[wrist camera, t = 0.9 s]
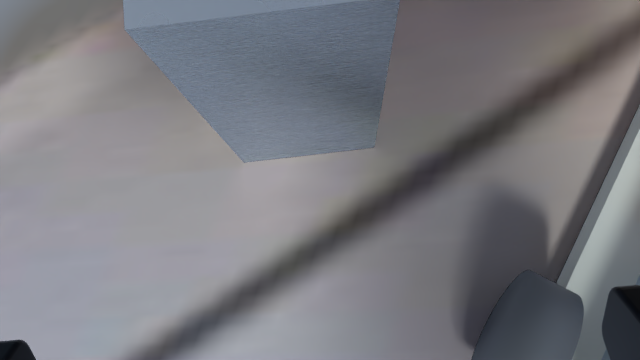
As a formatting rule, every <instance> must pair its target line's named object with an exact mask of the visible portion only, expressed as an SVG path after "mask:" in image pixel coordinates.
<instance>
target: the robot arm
mask: <svg viewBox="0 0 640 360" xmlns="http://www.w3.org/2000/svg"><path fill="white" fill-rule="evenodd" d="M602 336H603V340H604V343H605V346H606V349H607V352H608V355H609V357H610V360H640V285H629V286H617V287H614V288H612V289H611V290H610V292H609V294H608V299H607V303H606V308H605V312H604V317H603V321H602ZM0 360H36V359H35V357H34V355H33V353H32V351H31V349H30V347H29V346H28V344H27V343H26V342H25V341H23V340H11V341H0Z"/></svg>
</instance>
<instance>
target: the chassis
mask: <svg viewBox="0 0 640 360" xmlns="http://www.w3.org/2000/svg"><path fill="white" fill-rule="evenodd" d="M629 285H640V105H639V107H638V110H637V112H636V114H635V116H634V118H633V120H632V122H631V124H630V127H629V129H628V131H627V133H626V135H625V137H624V139H623V142H622V144H621V146H620V148H619V150H618V152H617V154H616V157H615V159H614V161H613V163H612V165H611V167H610V169H609V171H608V174H607V176H606V178H605V180H604V182H603V184H602V186H601V189H600V191H599V193H598V195H597V197H596V199H595V201H594V204H593V206H592V208H591V210H590V212H589V214H588V216H587V218H586V221H585V223H584V225H583V227H582V229H581V231H580V233H579V236H578V238H577V240H576V242H575V244H574V246H573V248H572V251H571V253H570V255H569V257H568V259H567V261H566V263H565V265H564V268H563V270H562V272H561V274H560V276H559V278H558V280H557V283H554V282H552V281H550V280H548V279H546V278H545V277H543V276H541V275H539V274H537V273H535V272H533V271H531V270H527V271H524V272H522V273H521V274H520V275H519V276H518V277H516V278H515V280H514V281H513V282H512V283H511V284H510V285H509V287H508V288H507V289H506V291H505V292H504V293H503V295H502V296H501V298H500V299H499V301H498V303H497V304H496V306H495V308H494V309H493V311H492V313H491V315H490V317H489V319H488V320H487V322H486V325H485V327H484V329H483V331H482V333H481V335H480V338H479V340H478V343H477V345H476V348H475V351H474V353H473V356H472V360H610V357H609V355H608V352H607V349H606V346H605V343H604V340H603V336H602V321H603V317H604V312H605V308H606V303H607V299H608V294H609V292H610V290H611V289H612V288H614V287H617V286H629Z"/></svg>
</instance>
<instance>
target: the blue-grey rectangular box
mask: <svg viewBox="0 0 640 360" xmlns="http://www.w3.org/2000/svg"><path fill="white" fill-rule="evenodd" d="M399 3H400V0H123V9H124V27H125V31H126V32H127V33H128V34H129V35H130V36H131V37H132V38H133V40H134V41H135V42H136V43H137V44H138V45H139V46H140V47H141V48H142V50H143V51H144V52H145V53H146V54H147V55H148V56H149V57H150V58H151V60H152V61H153V62H154V63H155V64H156V65H157V66H158V67H159V69H160V70H161V71H162V72H163V73H164V74H165V75H166V76H167V77H168V79H169V80H170V81H171V82H172V83H173V84H174V85H175V86H176V87H177V89H178V90H179V91H180V92H181V93H182V94H183V95H184V96H185V98H186V99H187V100H188V101H189V102H190V103H191V104H192V105H193V106H194V108H195V109H196V110H197V111H198V112H199V113H200V114H201V115H202V116H203V118H204V119H205V120H206V121H207V122H208V123H209V124H210V125H211V127H212V128H213V129H214V130H215V131H216V132H217V133H218V134H219V135H220V137H221V138H222V139H223V140H224V141H225V142H226V143H227V144H228V145H229V147H230V148H231V149H232V150H233V151H234V152H235V153H236V154H237V156H238V157H239V158H240V159H241V160H242V161H243V162H244V163H245V162H254V161H263V160H271V159H280V158H289V157H297V156H306V155H315V154H323V153H332V152H340V151H349V150H358V149H366V148H374V146H375V140H376V134H377V129H378V123H379V117H380V112H381V106H382V100H383V94H384V89H385V83H386V77H387V71H388V66H389V60H390V54H391V48H392V43H393V37H394V31H395V26H396V20H397V14H398V8H399Z"/></svg>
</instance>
